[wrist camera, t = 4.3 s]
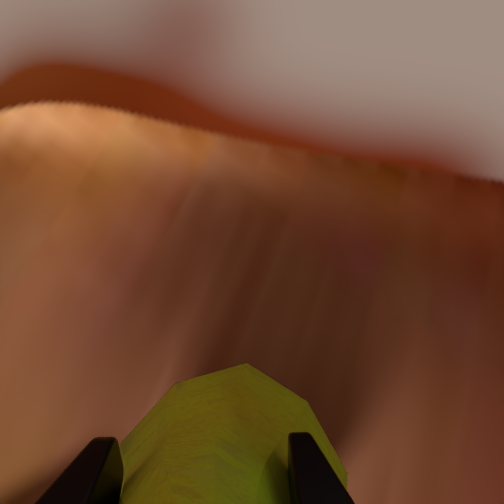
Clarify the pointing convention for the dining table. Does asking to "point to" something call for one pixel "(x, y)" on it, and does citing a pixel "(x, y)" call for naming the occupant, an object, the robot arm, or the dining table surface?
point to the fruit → (219, 442)
